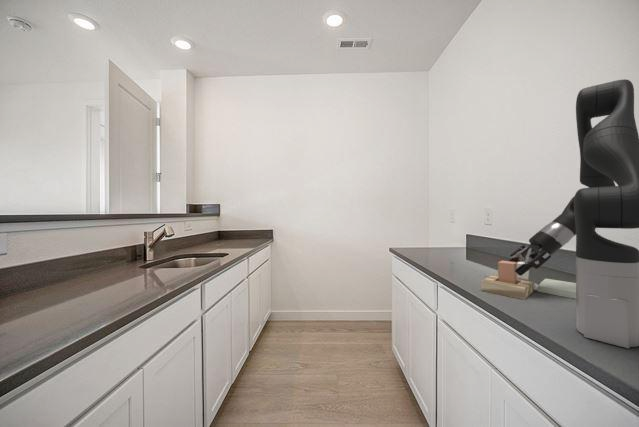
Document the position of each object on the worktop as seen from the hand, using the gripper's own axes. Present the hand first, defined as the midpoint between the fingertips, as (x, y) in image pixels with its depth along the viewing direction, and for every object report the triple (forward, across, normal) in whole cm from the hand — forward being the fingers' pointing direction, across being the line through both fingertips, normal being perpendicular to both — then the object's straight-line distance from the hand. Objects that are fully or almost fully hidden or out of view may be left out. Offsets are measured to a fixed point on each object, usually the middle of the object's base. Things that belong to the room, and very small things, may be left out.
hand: (511, 270), depth 86 cm
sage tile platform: (-8, -2, +18) cm, 19 cm away
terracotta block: (+6, 0, +4) cm, 7 cm away
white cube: (-1, -17, +12) cm, 21 cm away
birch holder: (+6, 0, +4) cm, 7 cm away
